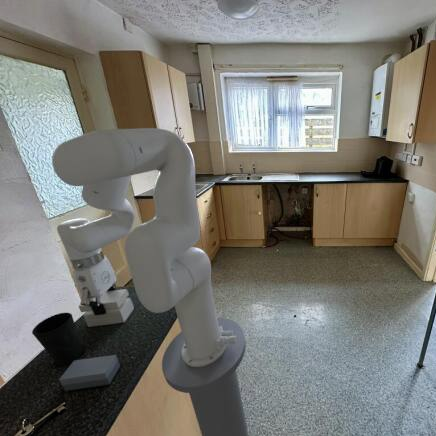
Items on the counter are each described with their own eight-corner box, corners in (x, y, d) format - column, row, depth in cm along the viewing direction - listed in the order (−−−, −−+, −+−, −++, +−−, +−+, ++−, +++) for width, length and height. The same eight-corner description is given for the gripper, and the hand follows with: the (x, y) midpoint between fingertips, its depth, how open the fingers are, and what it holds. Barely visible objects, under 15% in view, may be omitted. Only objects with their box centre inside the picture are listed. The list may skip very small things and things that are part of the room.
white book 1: (132, 302, 82) (130, 297, 81) (122, 316, 76) (120, 310, 75) (98, 306, 81) (95, 301, 80) (85, 321, 75) (82, 315, 74)
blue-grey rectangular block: (120, 365, 63) (118, 360, 62) (109, 384, 58) (106, 378, 57) (79, 371, 62) (76, 365, 61) (65, 391, 57) (61, 385, 56)
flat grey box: (129, 294, 81) (126, 288, 80) (118, 308, 75) (116, 301, 74) (94, 298, 80) (91, 292, 79) (81, 312, 74) (78, 306, 73)
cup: (91, 340, 71) (76, 308, 67) (82, 361, 64) (65, 327, 60) (58, 350, 68) (40, 318, 64) (46, 373, 61) (25, 339, 57)
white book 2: (134, 308, 83) (132, 302, 82) (124, 322, 77) (122, 316, 76) (100, 312, 82) (98, 306, 81) (88, 327, 76) (85, 321, 75)
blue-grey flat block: (118, 360, 62) (115, 354, 61) (106, 378, 57) (104, 373, 57) (76, 366, 61) (73, 360, 60) (61, 385, 56) (58, 379, 56)
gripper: (81, 274, 64) (103, 324, 70) (117, 244, 80) (132, 288, 86) (51, 277, 63) (76, 328, 69) (93, 246, 79) (110, 290, 85)
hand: (107, 305), depth 78 cm, fingers closed on flat grey box, 6 cm apart
